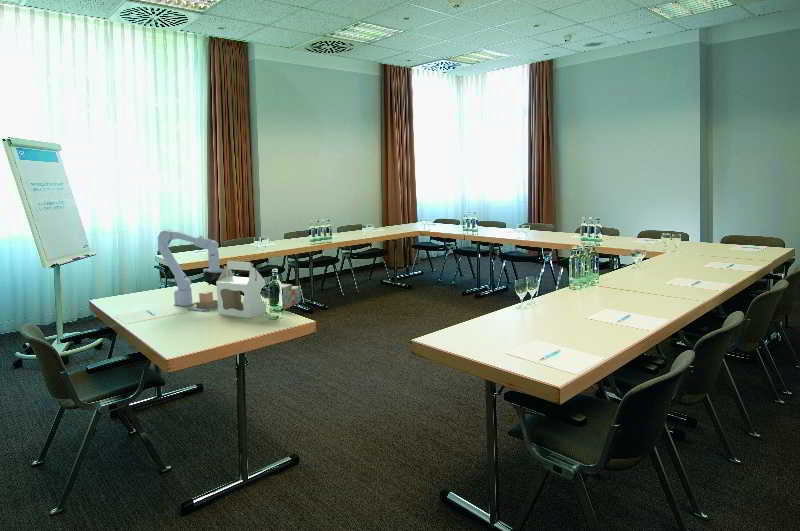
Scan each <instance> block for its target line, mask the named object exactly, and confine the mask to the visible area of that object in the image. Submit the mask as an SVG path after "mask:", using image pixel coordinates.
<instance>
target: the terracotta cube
mask: <svg viewBox="0 0 800 531" xmlns="http://www.w3.org/2000/svg"><path fill="white" fill-rule="evenodd" d="M198 296H199V298H198V299H199V301H200V302H206V303H207V302H210V301H213V300H214V294H213V291H202V292H199V293H198Z"/></svg>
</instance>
